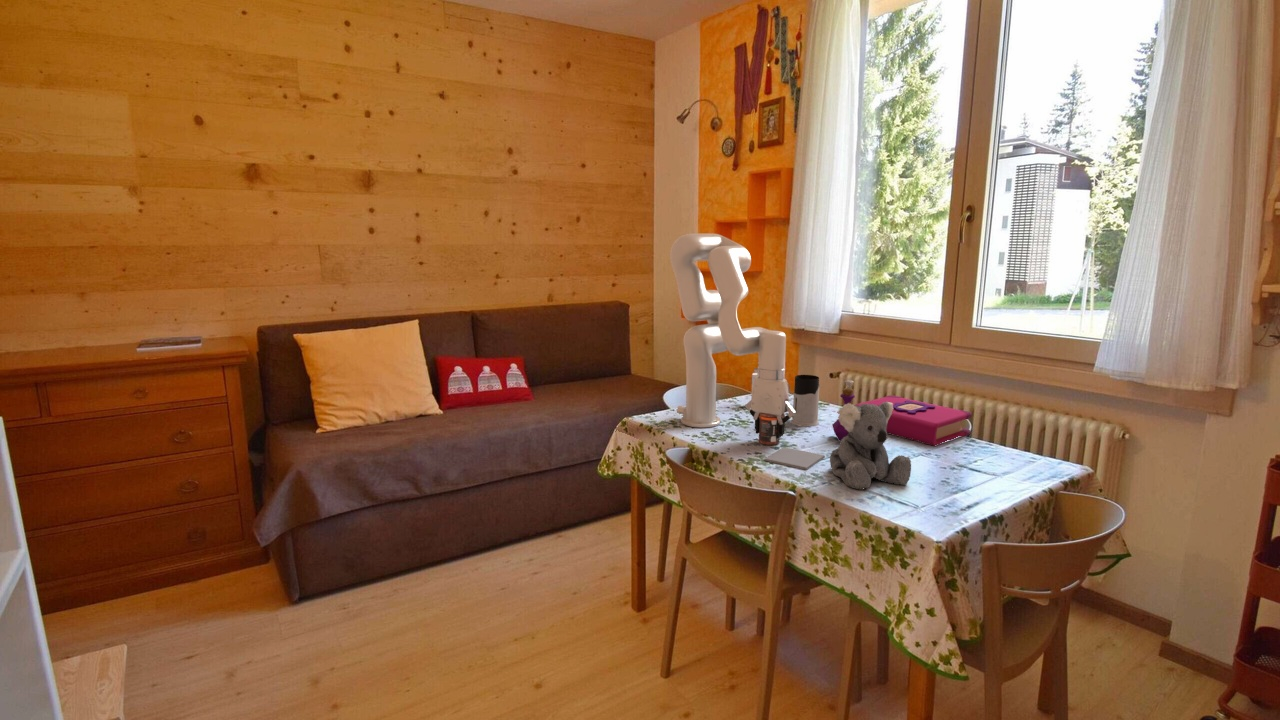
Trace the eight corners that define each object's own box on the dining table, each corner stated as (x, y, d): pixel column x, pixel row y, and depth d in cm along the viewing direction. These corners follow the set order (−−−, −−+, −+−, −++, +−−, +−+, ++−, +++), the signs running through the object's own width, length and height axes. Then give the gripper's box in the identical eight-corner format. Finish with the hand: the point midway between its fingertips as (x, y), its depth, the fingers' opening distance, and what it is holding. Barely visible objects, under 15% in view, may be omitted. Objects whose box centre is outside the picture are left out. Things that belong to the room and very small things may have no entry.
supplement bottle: (779, 446, 191) (780, 408, 189) (758, 445, 192) (759, 407, 190) (779, 440, 197) (780, 402, 194) (758, 438, 198) (760, 401, 196)
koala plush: (853, 493, 157) (857, 413, 153) (813, 468, 173) (816, 395, 170) (915, 485, 161) (921, 407, 158) (870, 461, 178) (875, 390, 175)
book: (933, 448, 190) (935, 422, 188) (851, 425, 212) (852, 402, 211) (971, 435, 202) (974, 410, 200) (889, 415, 224) (891, 393, 223)
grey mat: (764, 460, 179) (764, 458, 179) (783, 449, 188) (783, 447, 188) (807, 469, 172) (807, 467, 172) (824, 457, 181) (824, 455, 181)
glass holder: (822, 426, 210) (824, 380, 207) (776, 426, 210) (778, 380, 207) (815, 418, 218) (817, 374, 216) (772, 418, 219) (773, 374, 216)
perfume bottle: (831, 434, 201) (834, 376, 198) (857, 436, 200) (861, 377, 196) (833, 442, 194) (836, 382, 191) (860, 444, 192) (864, 383, 189)
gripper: (738, 372, 192) (736, 432, 196) (794, 380, 182) (791, 443, 186) (750, 368, 198) (748, 426, 202) (805, 375, 188) (802, 436, 192)
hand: (769, 433), depth 194 cm, fingers closed on supplement bottle, 6 cm apart
